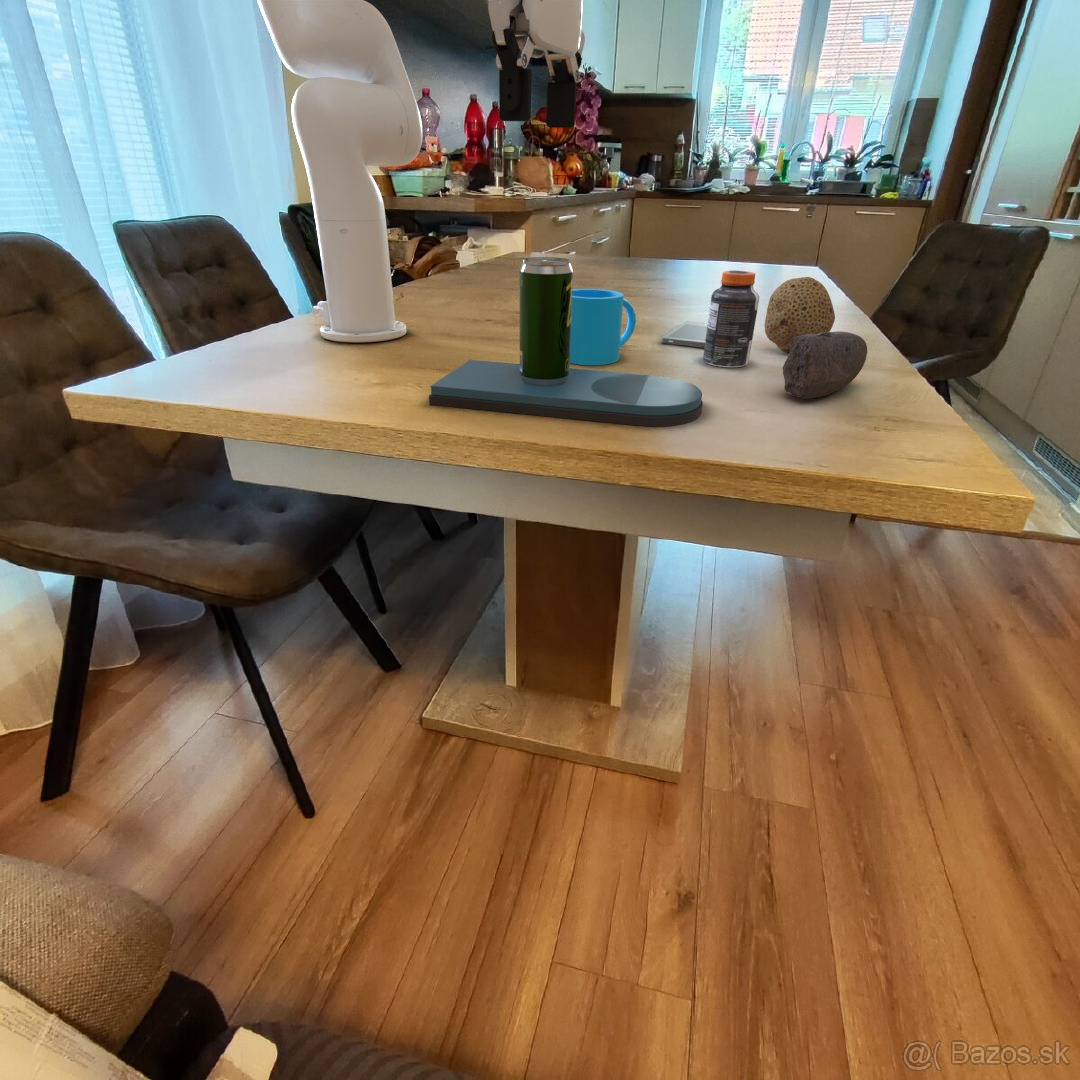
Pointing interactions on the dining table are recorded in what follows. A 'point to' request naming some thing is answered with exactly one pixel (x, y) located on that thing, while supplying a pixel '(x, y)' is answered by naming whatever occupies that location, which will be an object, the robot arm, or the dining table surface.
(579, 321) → the mug
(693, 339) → the smartphone
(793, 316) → the natural sponge
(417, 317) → the dining table surface
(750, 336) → the pill bottle
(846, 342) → the rock
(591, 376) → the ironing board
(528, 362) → the beer can
